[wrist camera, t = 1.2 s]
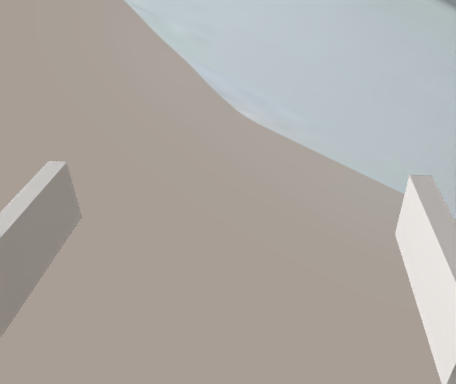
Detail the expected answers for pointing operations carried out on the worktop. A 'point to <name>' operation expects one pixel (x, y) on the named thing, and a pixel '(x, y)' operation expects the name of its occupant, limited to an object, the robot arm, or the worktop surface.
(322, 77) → the worktop surface
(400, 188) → the worktop surface
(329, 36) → the worktop surface
